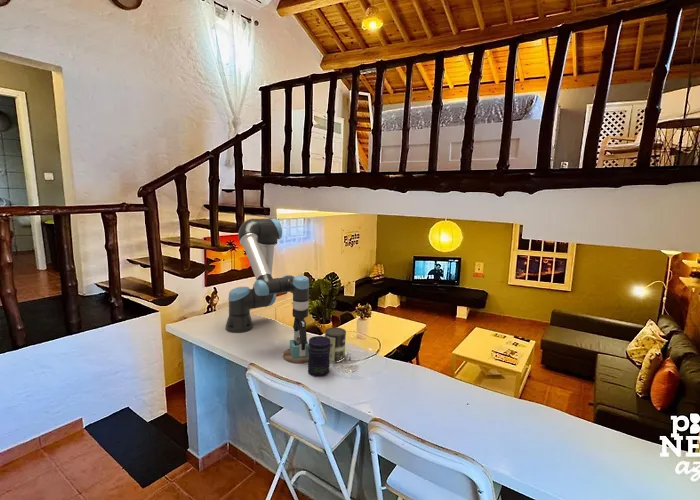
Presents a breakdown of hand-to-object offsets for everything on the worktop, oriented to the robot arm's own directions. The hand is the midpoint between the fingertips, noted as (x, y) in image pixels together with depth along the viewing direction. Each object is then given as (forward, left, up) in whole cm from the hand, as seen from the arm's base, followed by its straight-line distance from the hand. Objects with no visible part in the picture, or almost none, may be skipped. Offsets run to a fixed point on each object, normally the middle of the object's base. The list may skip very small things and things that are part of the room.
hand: (299, 349), depth 175 cm
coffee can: (+7, +16, -4) cm, 18 cm away
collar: (0, 0, -2) cm, 2 cm away
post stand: (0, 0, -3) cm, 3 cm away
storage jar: (+17, +5, -3) cm, 18 cm away
